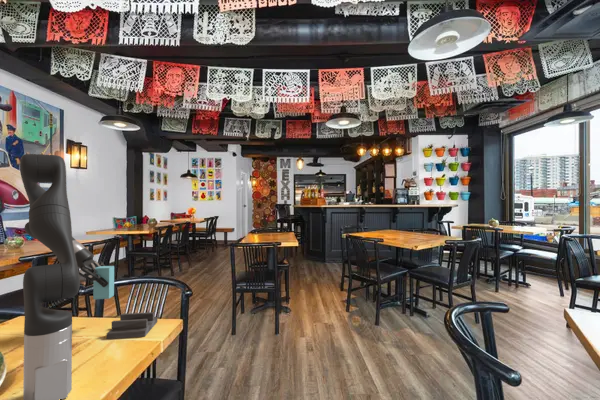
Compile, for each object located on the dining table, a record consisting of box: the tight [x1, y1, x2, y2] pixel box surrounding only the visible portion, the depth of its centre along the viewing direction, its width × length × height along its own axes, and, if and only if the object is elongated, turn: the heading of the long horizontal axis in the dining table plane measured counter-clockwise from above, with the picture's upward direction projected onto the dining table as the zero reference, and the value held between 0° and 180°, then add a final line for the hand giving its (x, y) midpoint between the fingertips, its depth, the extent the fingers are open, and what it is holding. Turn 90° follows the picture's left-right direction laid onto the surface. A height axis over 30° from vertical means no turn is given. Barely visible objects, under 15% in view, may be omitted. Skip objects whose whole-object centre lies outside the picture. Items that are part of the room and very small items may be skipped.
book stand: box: [106, 311, 158, 340], centre depth 110 cm, size 13×13×5 cm
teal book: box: [92, 265, 115, 300], centre depth 114 cm, size 4×6×12 cm
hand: (109, 283), depth 114 cm, fingers closed on teal book, 4 cm apart
